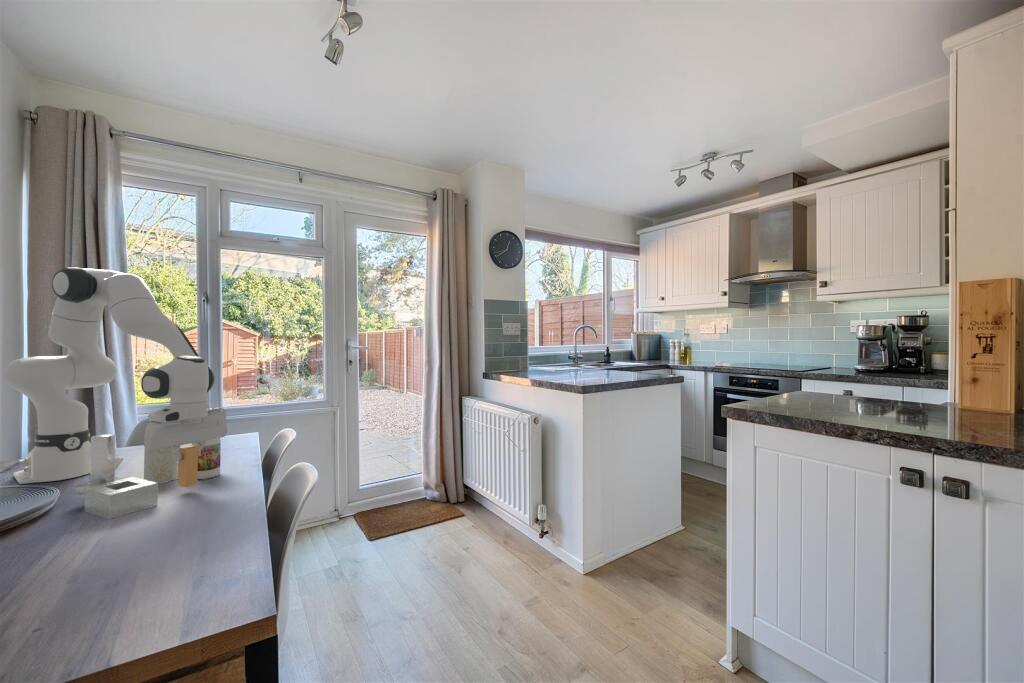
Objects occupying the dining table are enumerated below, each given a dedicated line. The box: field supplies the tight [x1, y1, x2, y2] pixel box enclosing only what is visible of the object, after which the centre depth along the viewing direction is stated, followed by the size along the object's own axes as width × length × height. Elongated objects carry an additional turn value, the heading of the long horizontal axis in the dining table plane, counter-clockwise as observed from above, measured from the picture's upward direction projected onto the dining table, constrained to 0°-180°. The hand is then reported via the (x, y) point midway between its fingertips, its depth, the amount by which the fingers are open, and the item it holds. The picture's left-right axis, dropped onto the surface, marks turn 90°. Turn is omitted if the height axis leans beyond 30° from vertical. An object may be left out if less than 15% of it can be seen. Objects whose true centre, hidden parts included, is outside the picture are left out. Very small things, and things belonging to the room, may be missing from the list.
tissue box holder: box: [75, 433, 159, 520], centre depth 110 cm, size 21×10×18 cm, turn 66°
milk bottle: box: [191, 438, 222, 480], centre depth 134 cm, size 8×8×20 cm
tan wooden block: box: [176, 444, 198, 488], centre depth 120 cm, size 4×3×11 cm
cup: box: [143, 446, 178, 484], centre depth 130 cm, size 8×8×12 cm
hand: (187, 458), depth 120 cm, fingers closed on tan wooden block, 3 cm apart
